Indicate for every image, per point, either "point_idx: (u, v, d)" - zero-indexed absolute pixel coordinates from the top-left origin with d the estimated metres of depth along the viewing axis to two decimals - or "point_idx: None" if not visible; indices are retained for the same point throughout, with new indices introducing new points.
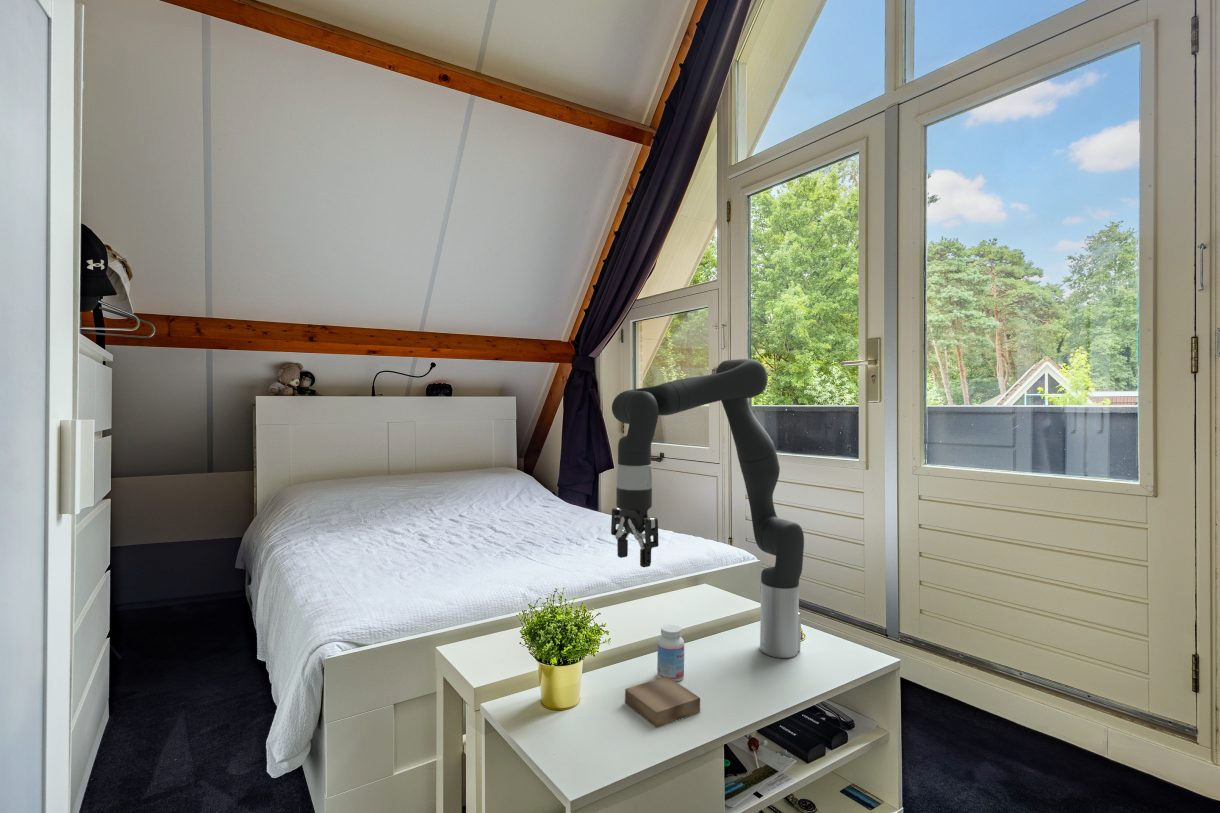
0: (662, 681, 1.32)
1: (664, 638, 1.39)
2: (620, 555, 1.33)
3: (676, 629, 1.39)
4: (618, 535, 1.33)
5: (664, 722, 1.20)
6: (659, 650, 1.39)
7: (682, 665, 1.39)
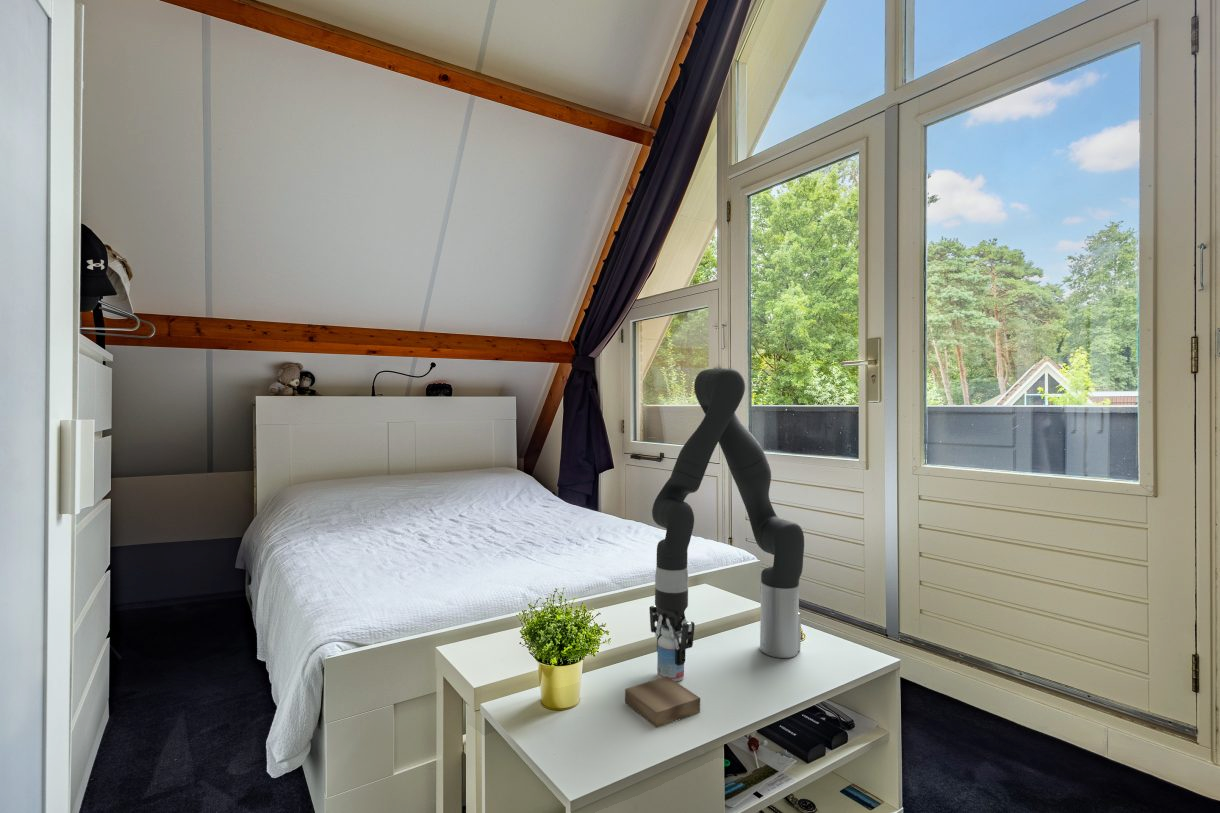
0: (662, 681, 1.32)
1: (664, 638, 1.39)
2: None
3: None
4: (658, 634, 1.42)
5: (664, 722, 1.20)
6: (659, 650, 1.39)
7: (682, 665, 1.39)
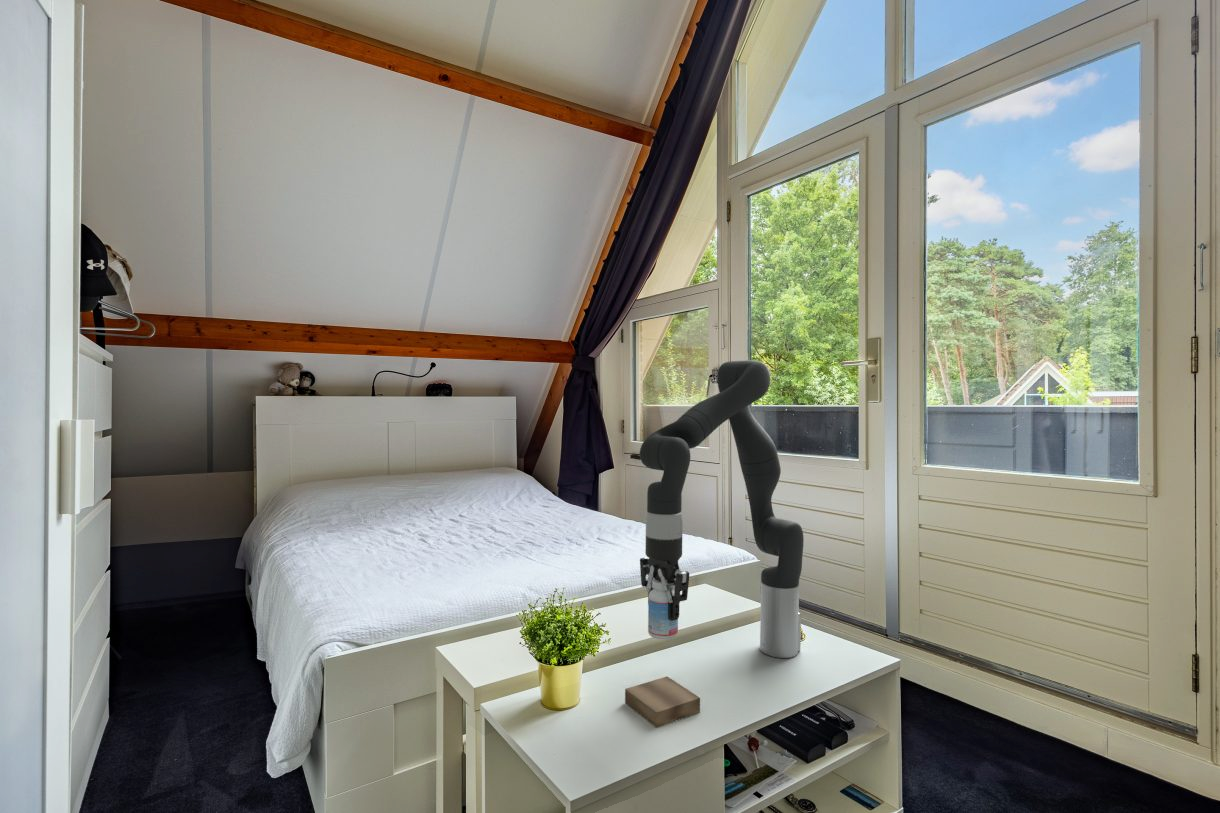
0: (662, 681, 1.32)
1: (655, 591, 1.25)
2: None
3: None
4: (649, 587, 1.28)
5: (664, 722, 1.20)
6: (650, 604, 1.25)
7: (675, 621, 1.25)
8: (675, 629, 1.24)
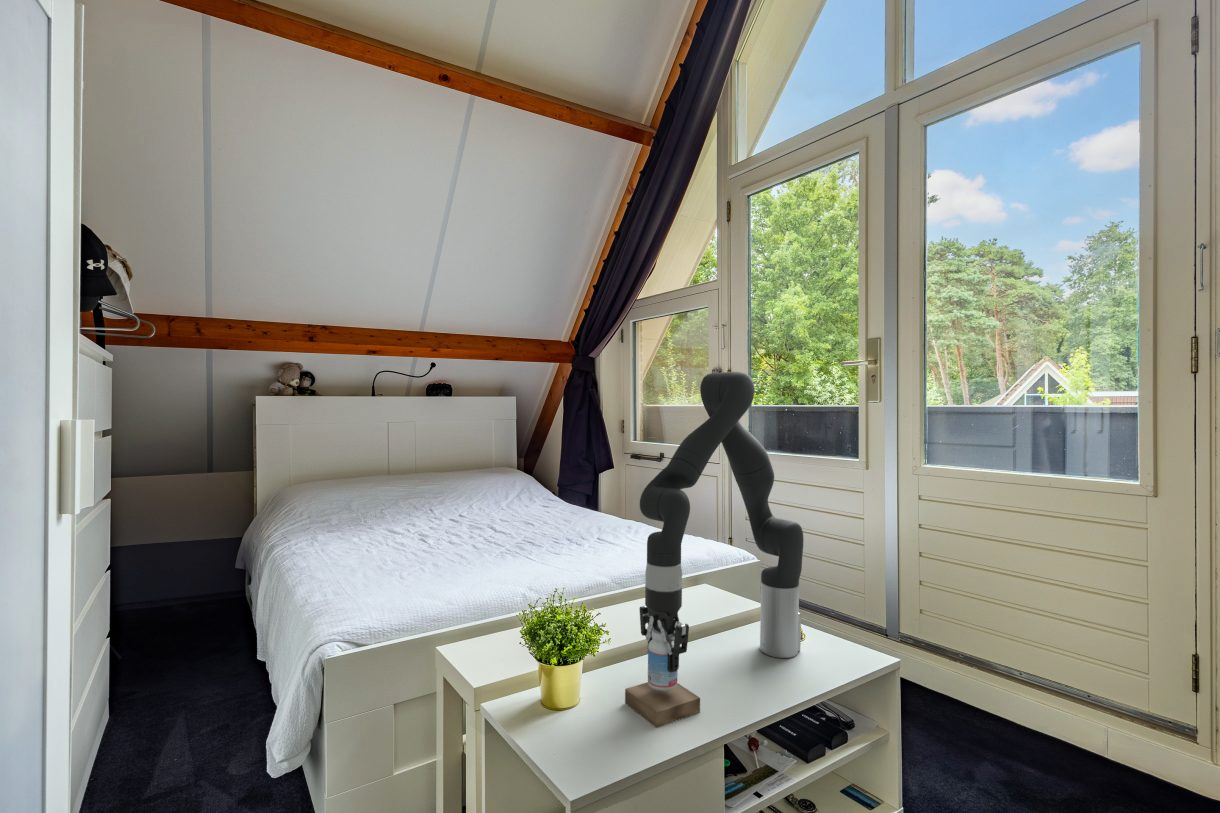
0: None
1: (655, 642, 1.25)
2: None
3: None
4: (649, 637, 1.28)
5: (664, 722, 1.20)
6: (649, 655, 1.25)
7: (675, 672, 1.25)
8: (675, 680, 1.25)
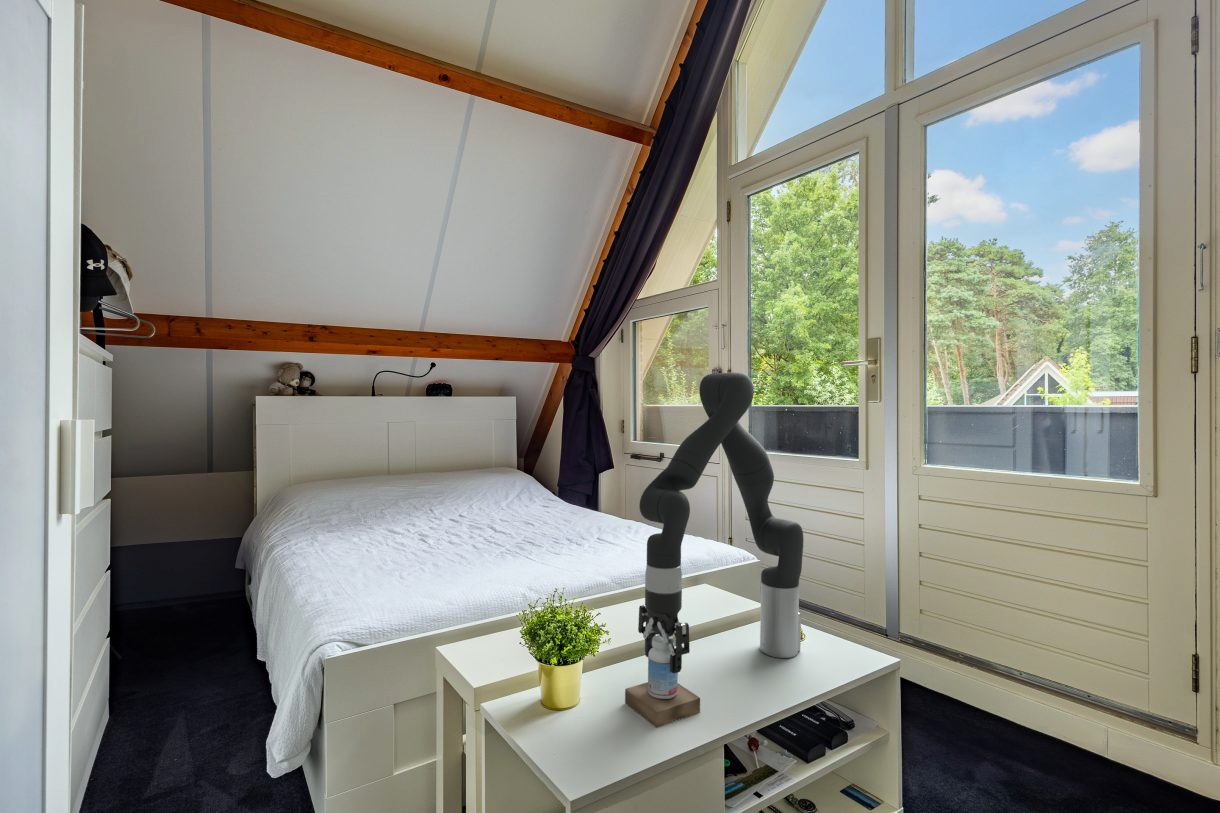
0: None
1: (655, 650, 1.25)
2: None
3: None
4: (646, 634, 1.29)
5: (664, 722, 1.20)
6: (650, 664, 1.25)
7: (675, 680, 1.25)
8: (675, 688, 1.25)
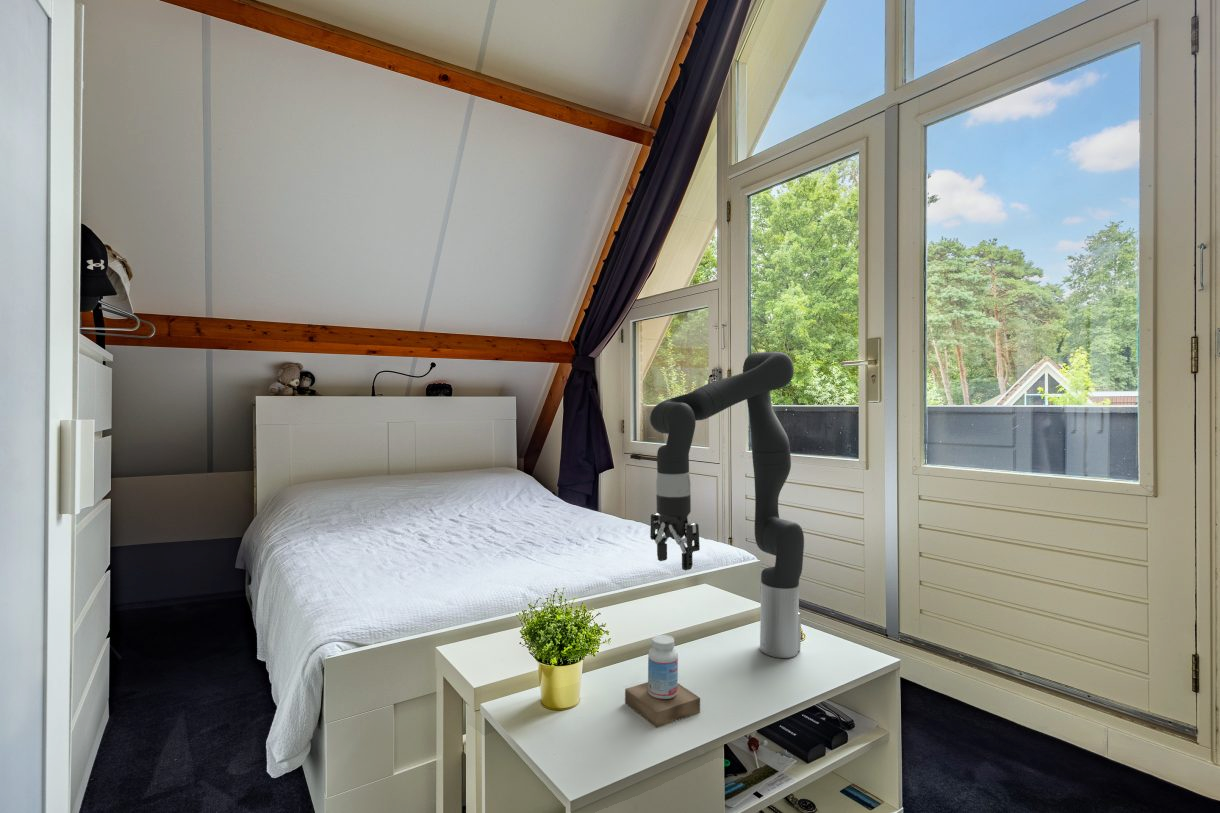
0: None
1: (655, 650, 1.25)
2: (660, 559, 1.39)
3: (669, 641, 1.25)
4: (658, 540, 1.39)
5: (664, 722, 1.20)
6: (650, 664, 1.25)
7: (675, 680, 1.25)
8: (675, 688, 1.25)
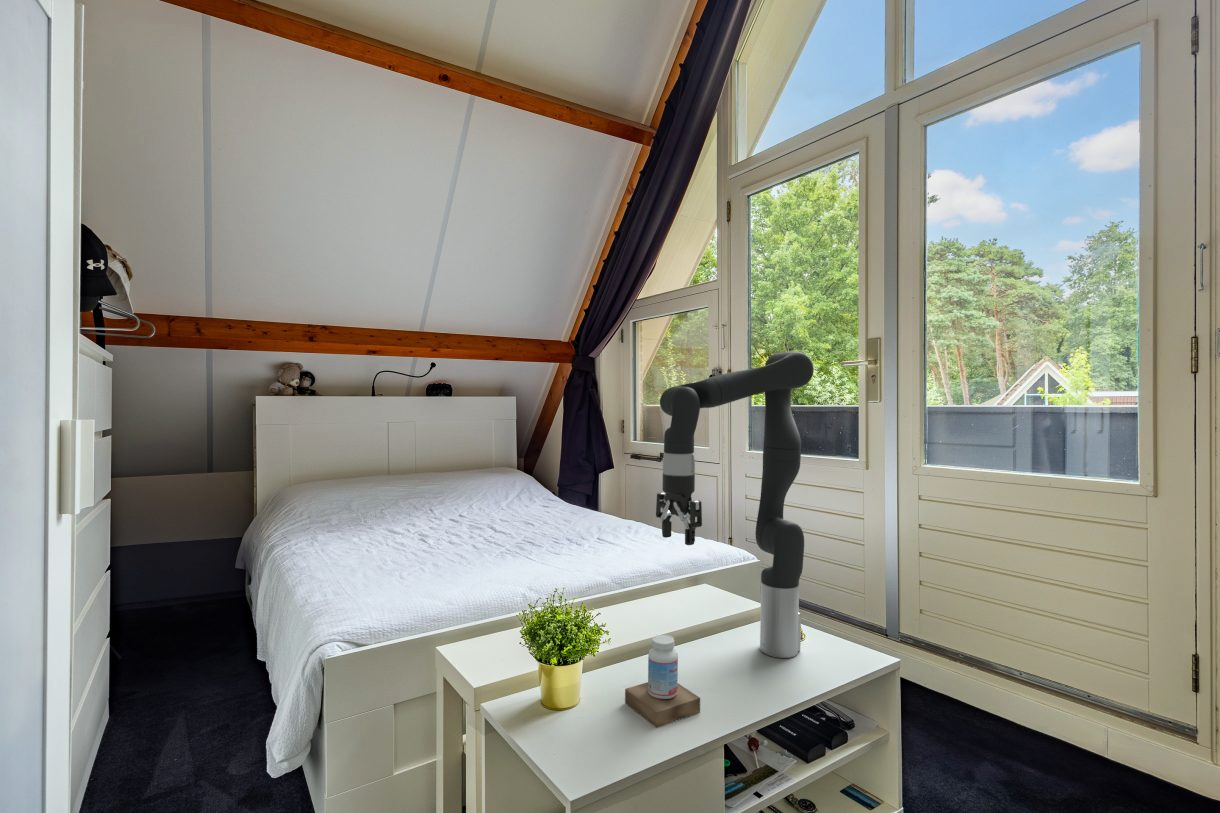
0: None
1: (655, 650, 1.25)
2: (665, 535, 1.47)
3: (669, 641, 1.25)
4: (663, 517, 1.47)
5: (664, 722, 1.20)
6: (650, 664, 1.25)
7: (675, 680, 1.25)
8: (675, 689, 1.25)
